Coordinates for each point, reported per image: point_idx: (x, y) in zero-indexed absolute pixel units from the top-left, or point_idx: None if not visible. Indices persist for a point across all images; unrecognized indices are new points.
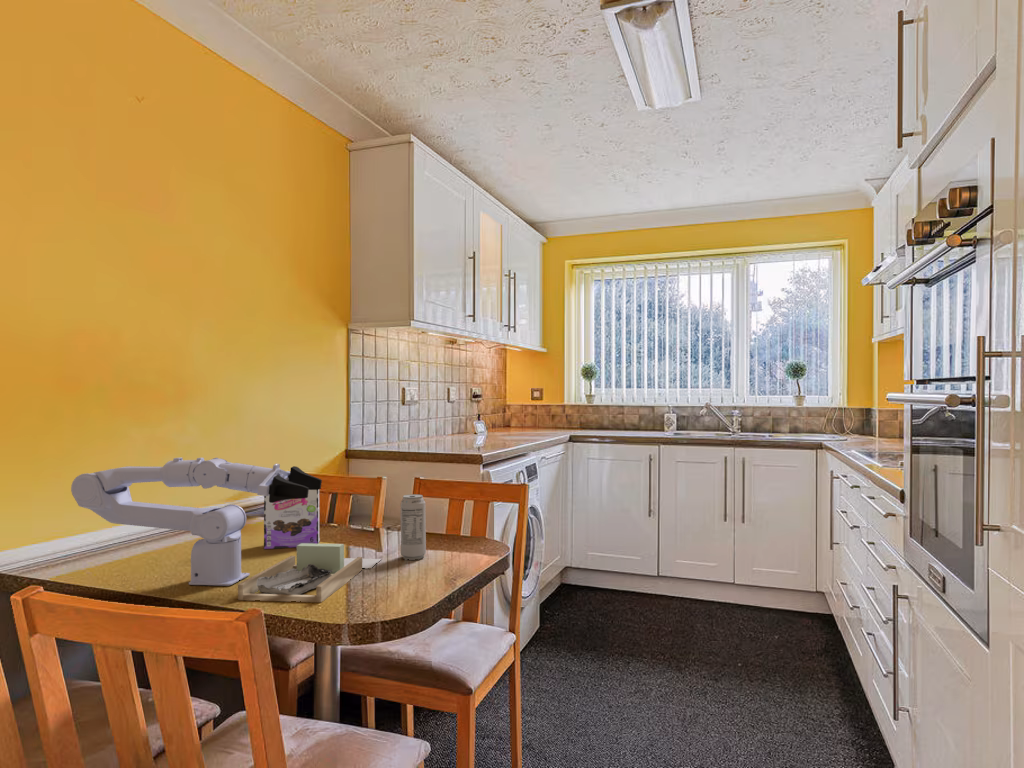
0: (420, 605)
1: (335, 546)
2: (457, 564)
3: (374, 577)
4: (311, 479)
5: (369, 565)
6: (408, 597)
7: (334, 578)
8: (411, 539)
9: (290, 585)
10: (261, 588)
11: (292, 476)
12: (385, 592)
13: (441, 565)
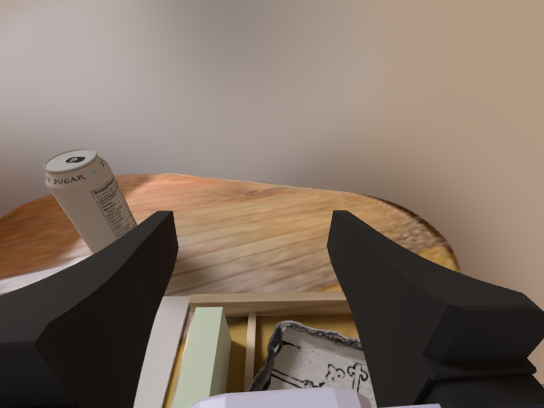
0: (350, 199)
1: (220, 317)
2: (184, 200)
3: (243, 274)
4: (154, 244)
5: (171, 303)
6: (328, 214)
7: (338, 292)
8: (134, 225)
9: None
10: None
11: (87, 373)
12: (316, 240)
13: (185, 213)
